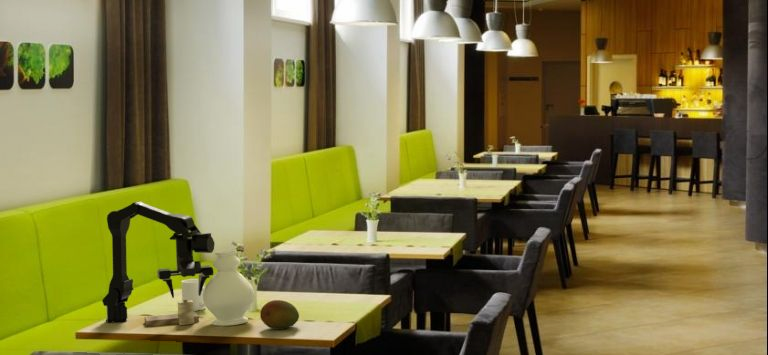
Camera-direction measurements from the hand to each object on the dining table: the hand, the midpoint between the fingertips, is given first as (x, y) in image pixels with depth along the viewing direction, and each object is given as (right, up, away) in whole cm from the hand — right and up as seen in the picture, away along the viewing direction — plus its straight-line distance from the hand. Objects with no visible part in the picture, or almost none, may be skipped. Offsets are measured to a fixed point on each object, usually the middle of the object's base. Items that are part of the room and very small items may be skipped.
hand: (186, 296), depth 388 cm
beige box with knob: (-1, -9, +4) cm, 10 cm away
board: (-6, -10, +5) cm, 12 cm away
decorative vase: (+15, -9, +2) cm, 18 cm away
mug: (0, -8, +25) cm, 27 cm away
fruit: (+34, -10, -9) cm, 36 cm away
